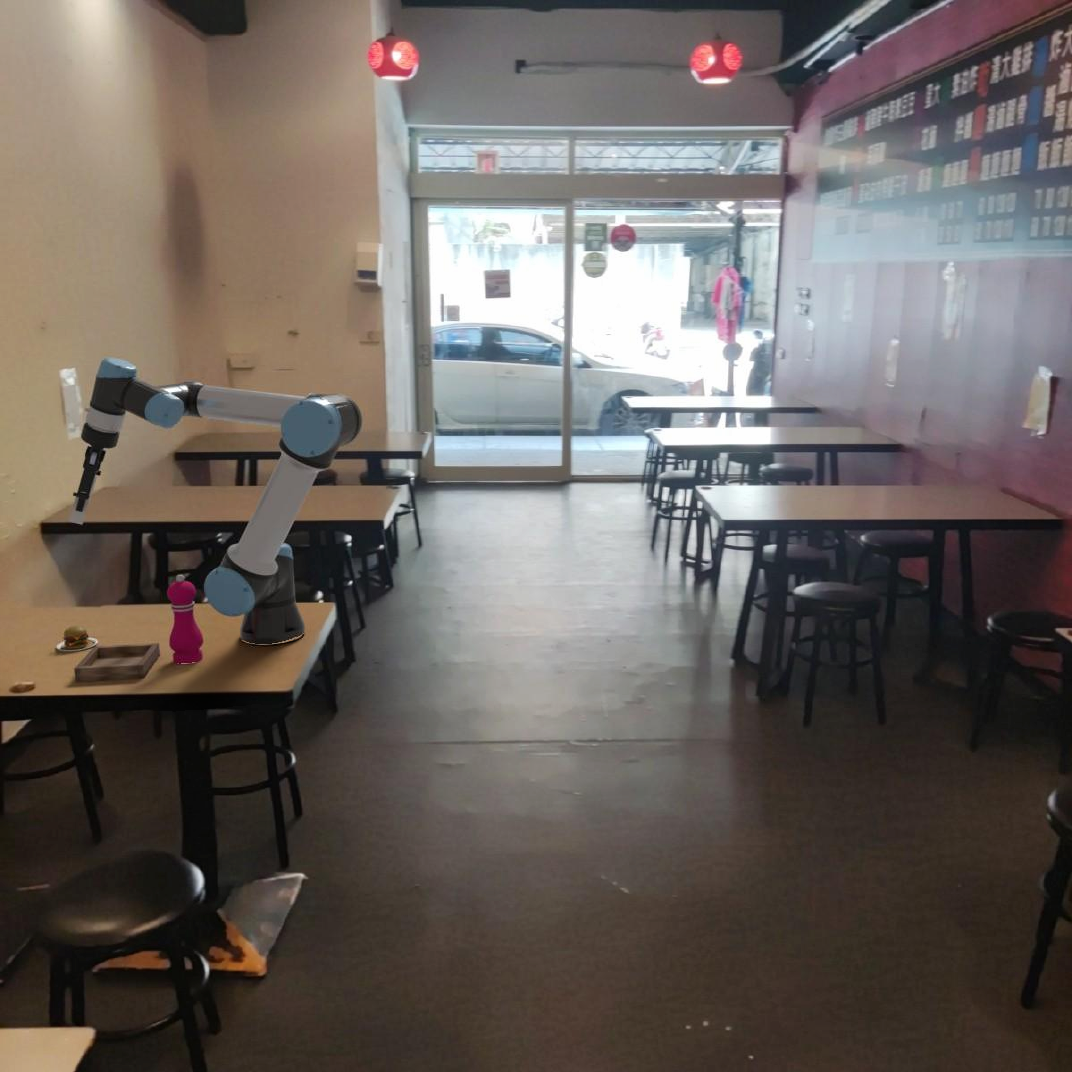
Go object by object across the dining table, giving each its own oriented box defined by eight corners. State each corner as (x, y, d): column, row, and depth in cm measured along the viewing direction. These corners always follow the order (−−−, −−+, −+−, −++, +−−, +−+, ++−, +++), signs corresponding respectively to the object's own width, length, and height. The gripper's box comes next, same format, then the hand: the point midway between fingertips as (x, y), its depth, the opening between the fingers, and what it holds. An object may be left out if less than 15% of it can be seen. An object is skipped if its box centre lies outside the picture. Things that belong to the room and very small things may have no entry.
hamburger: (106, 637, 233) (104, 616, 232) (103, 653, 223) (101, 631, 221) (52, 643, 229) (49, 621, 228) (46, 660, 218) (43, 637, 217)
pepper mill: (210, 654, 219) (202, 570, 215) (196, 666, 212) (188, 579, 208) (180, 654, 220) (171, 570, 215) (165, 665, 213) (156, 578, 208)
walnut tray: (160, 655, 219) (158, 643, 218) (144, 678, 205) (143, 664, 205) (96, 658, 217) (94, 646, 216) (75, 681, 204) (74, 668, 203)
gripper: (91, 405, 223) (70, 487, 229) (76, 439, 201) (53, 528, 207) (125, 415, 226) (103, 495, 232) (114, 449, 204) (90, 536, 210)
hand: (80, 511), depth 219 cm, fingers open, 13 cm apart
